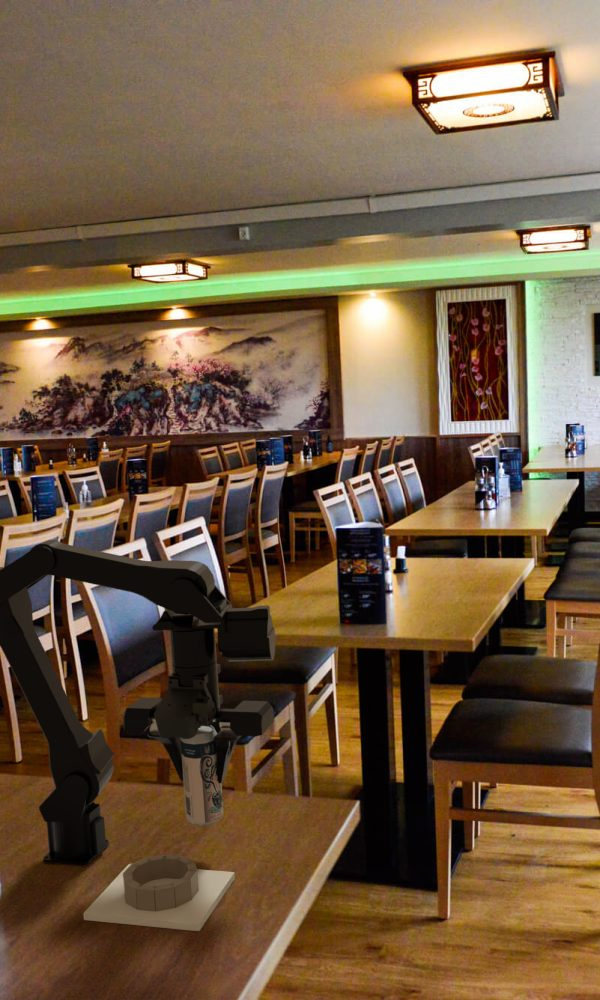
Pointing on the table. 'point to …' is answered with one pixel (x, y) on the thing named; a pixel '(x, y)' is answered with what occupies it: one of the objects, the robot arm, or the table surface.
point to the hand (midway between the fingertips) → (202, 781)
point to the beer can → (201, 778)
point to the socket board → (167, 917)
